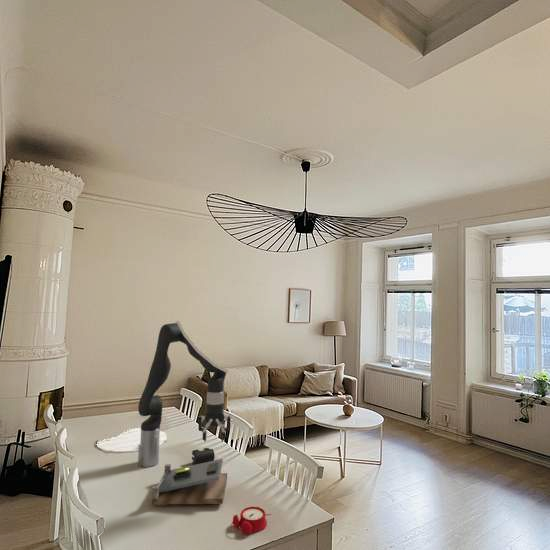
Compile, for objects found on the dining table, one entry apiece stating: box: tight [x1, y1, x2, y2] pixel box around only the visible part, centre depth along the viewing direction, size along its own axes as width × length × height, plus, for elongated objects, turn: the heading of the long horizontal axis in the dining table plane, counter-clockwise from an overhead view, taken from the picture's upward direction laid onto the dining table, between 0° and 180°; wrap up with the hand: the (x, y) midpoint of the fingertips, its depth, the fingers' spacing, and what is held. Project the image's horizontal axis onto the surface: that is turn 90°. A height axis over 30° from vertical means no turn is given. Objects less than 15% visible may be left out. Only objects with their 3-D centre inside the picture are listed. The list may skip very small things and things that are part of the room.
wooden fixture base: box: [150, 463, 228, 507], centre depth 162 cm, size 28×23×8 cm
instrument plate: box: [156, 458, 224, 493], centre depth 162 cm, size 26×18×4 cm
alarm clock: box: [230, 506, 272, 536], centre depth 139 cm, size 10×6×15 cm
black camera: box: [191, 447, 215, 465], centre depth 193 cm, size 10×7×7 cm
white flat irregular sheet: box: [95, 427, 168, 454], centre depth 223 cm, size 40×39×3 cm
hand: (214, 440), depth 164 cm, fingers open, 7 cm apart
